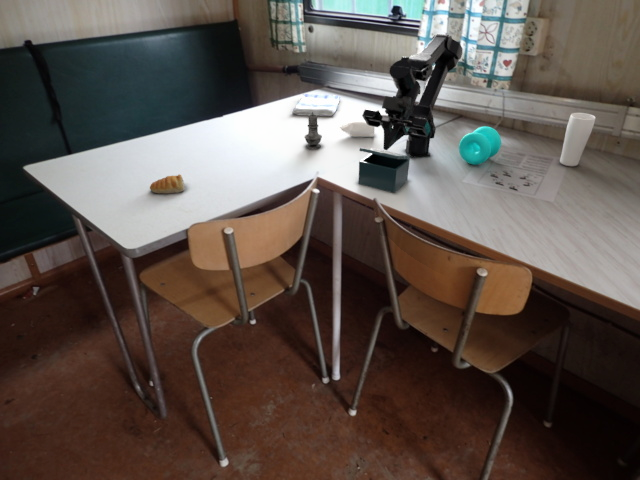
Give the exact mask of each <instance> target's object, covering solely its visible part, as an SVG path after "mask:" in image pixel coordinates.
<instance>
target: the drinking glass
mask: <svg viewBox="0 0 640 480" xmlns="http://www.w3.org/2000/svg"><path fill="white" fill-rule="evenodd" d="M596 118H597V117H596V116H595V115H593V114H590V113H586V112H572V113H571V114H570V116H569V119H568V122H567V124H566V127H565V128H566V129H565V134H564V139H563V144H562V148H561V149H562V150H561V153H560V154H561V155H560V158H559V163H560V164H561V165H563V166H566V167H577V166H578V165H580V164H579V163H580V160H581V158H582V155H583V153H584V150H585V148H586V146H587V144H588V141H589V140H590V136H591V135H592V132H593V129H594V125H595V122H596Z"/></svg>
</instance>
